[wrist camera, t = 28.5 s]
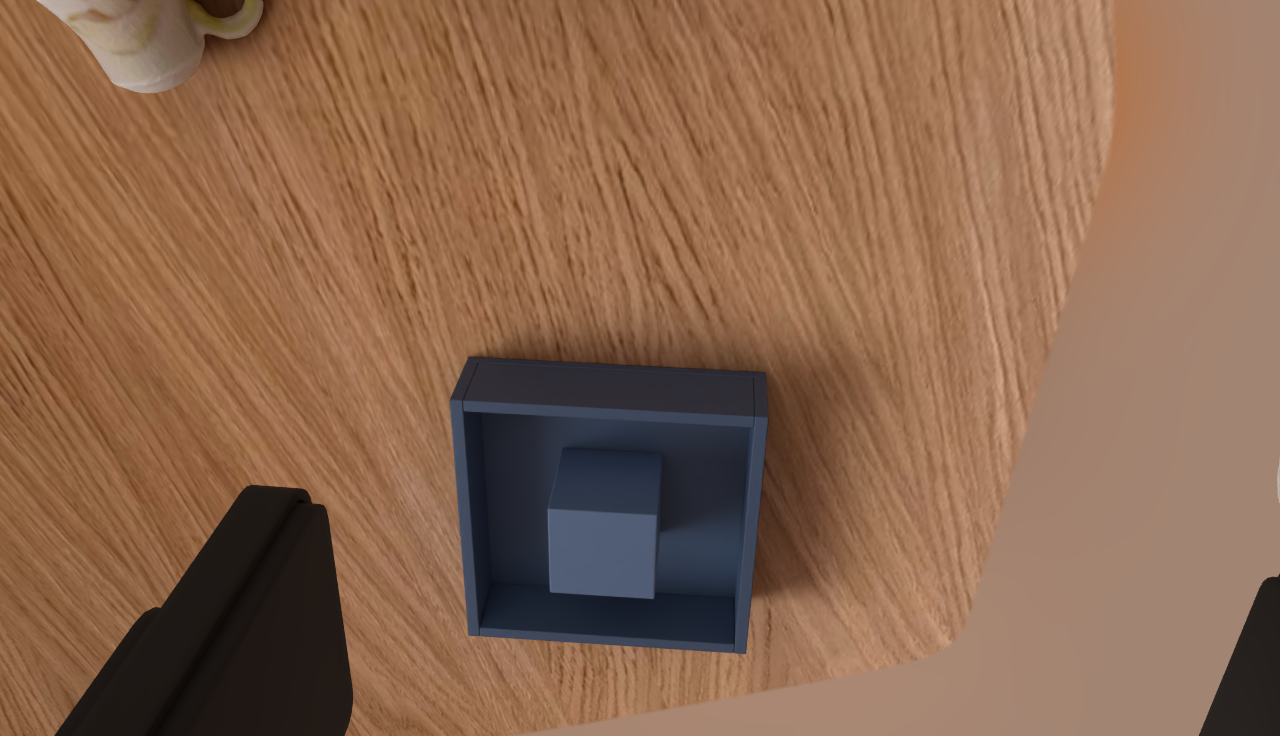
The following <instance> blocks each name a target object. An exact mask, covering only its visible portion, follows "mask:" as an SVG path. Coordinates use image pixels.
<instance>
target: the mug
mask: <svg viewBox="0 0 1280 736" xmlns="http://www.w3.org/2000/svg"><path fill="white" fill-rule="evenodd" d="M37 1H38V2H39V3H41V4H42V5H44V6H45V7H46V8H47V9H49V10H50V11H51V12H52V13H54V14H55V15H56V16H58V17H59V18H60V19H61V20H62V21H63V22H65V23H66V24H68V25H69V26H70V27H71V28H72V29H73V30H74V31H75V32H76V33H77V34H78V35H79V36H80V37H81V39H82V40H83V41H84V43H85V44H86V45H87V46H88V47H89V49H90V50H91V51H92V53H93V54H94V56H95V57H96V59H97V60H98V62H99V63H100V65H101V66H102V68H103V69H104V71H105V72H106V74H107V75H108V76H109V78H110V80H111V82H113V83H114V84H116V85H117V86H120V87H123V88H126V89H128V90H131V91H135V92H140V93H157V92H162V91H166V90H170V89H172V88H174V87H177V86H179V85H181V84H182V83H183V82H185V81H187V80H188V79H189V78H190V77H191V76H192V75H193V74H194V72H195V71H196V70H197V68H198V67H199V64H200V62H201V59H202V54H203V51H204V47H205V40H204V36H205V34H212V35H215V36H218V37H221V38H224V39H227V40H229V39H236V38H241V37H244V36H246V35H248V34H249V33H250V32H251V31H252V30H253V29H254V28H255V27H256V26H257V24H258V22H259V20H260V18H261V15H262V12H263V5H264V4H263V0H245V1H244V4H243V7H242V9H241V10H240V11H239V12H238V13H236V14H235V15H232V16H229V17H226V18H216V17H214V16H212V15H210V14H208V13H207V12H206V11H205V10H204V9H203V8H202V6H201V5H200V4H199V3H197V2H196V1H194V0H37Z"/></svg>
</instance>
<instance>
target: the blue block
mask: <svg viewBox="0 0 1280 736" xmlns="http://www.w3.org/2000/svg"><path fill="white" fill-rule="evenodd" d="M662 467H663V454H659V453H642V452H624V451H607V450H589V449H572V448H562V451H561V455H560V459H559V463H558V468H557V472H556V476H555V480H554V484H553V489H552V493H551V497H550V501H549V505H548V543H549V579H550V592H552V593H568V594H584V595H599V596H615V597H630V598H646V599H654V597H655V585H656V574H657V562H658V550H659V539H660V519H661V493H662Z"/></svg>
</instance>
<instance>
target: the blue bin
mask: <svg viewBox="0 0 1280 736" xmlns="http://www.w3.org/2000/svg"><path fill="white" fill-rule="evenodd" d="M450 410H451V423H452V435H453V448H454V460H455V473H456V485H457V498H458V511H459V523H460V536H461V548H462V561H463V573H464V586H465V598H466V611H467V623H468V635H469V636H484V637H500V638H515V639H530V640H545V641H560V642H575V643H590V644H605V645H620V646H635V647H650V648H665V649H680V650H695V651H710V652H725V653H737V654H746V648H747V638H748V627H749V617H750V606H751V596H752V586H753V575H754V565H755V554H756V544H757V533H758V523H759V513H760V502H761V492H762V481H763V471H764V460H765V450H766V440H767V429H768V419H769V417H768V401H767V385H766V373H763V372H745V371H726V370H707V369H688V368H669V367H650V366H632V365H613V364H594V363H575V362H556V361H537V360H519V359H500V358H481V357H468V359H467V361H466V364H465V366H464V368H463V371H462V373H461V375H460V378H459V380H458V382H457V385H456V387H455V389H454V392H453V394H452V396H451V398H450ZM562 448H572V449H589V450H607V451H624V452H642V453H659V454H663V467H662V493H661V519H660V539H659V550H658V562H657V574H656V585H655V597H654V599H646V598H630V597H615V596H599V595H584V594H568V593H552V592H550V579H549V543H548V505H549V501H550V497H551V493H552V489H553V484H554V480H555V476H556V472H557V468H558V463H559V459H560V455H561V451H562Z"/></svg>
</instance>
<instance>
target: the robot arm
mask: <svg viewBox="0 0 1280 736" xmlns="http://www.w3.org/2000/svg"><path fill="white" fill-rule="evenodd" d="M352 706H353V688H352V681H351V674H350V667H349V660H348V653H347V646H346V639H345V632H344V625H343V618H342V611H341V604H340V597H339V590H338V582H337V575H336V568H335V561H334V554H333V547H332V540H331V533H330V526H329V519H328V514H327V510H326V508H325V506H324V505H321V504H312V502H311V498H310V495H309V494H308V492H307V491H306V490H304V489H300V488H287V487H273V486H260V485H250V486H247V487H246V488H245V489H244V490H243V491H242V492H241V493H240V494H239V496H238V497H237V499H236V500H235V502H234V503H233V505H232V506H231V507H230V509H229V510H228V512H227V513H226V515H225V516H224V518H223V519H222V520H221V522H220V523H219V525H218V526H217V528H216V529H215V531H214V532H213V533H212V535H211V536H210V538H209V539H208V541H207V542H206V544H205V545H204V546H203V548H202V549H201V551H200V552H199V554H198V555H197V557H196V558H195V559H194V561H193V562H192V564H191V565H190V567H189V568H188V570H187V571H186V572H185V574H184V575H183V577H182V578H181V580H180V581H179V583H178V584H177V585H176V587H175V588H174V590H173V591H172V593H171V594H170V596H169V597H168V598H167V600H166V601H165V603H164V604H163V606H162V607H161V608H159V607H154V608H152V609H150V610H148V611H146V612H144V613H143V615H142V616H141V617H140V618H139V619H138V620H137V621H136V622H135V623H134V624H133V626H132V627H131V629H130V630H129V632H128V633H127V634H126V636H125V637H124V639H123V640H122V641H121V643H120V644H119V646H118V647H117V648H116V650H115V651H114V653H113V654H112V655H111V657H110V658H109V660H108V661H107V662H106V664H105V665H104V667H103V668H102V669H101V671H100V672H99V674H98V675H97V676H96V678H95V679H94V681H93V682H92V684H91V685H90V686H89V688H88V689H87V691H86V692H85V693H84V695H83V696H82V698H81V699H80V700H79V702H78V703H77V705H76V706H75V707H74V709H73V710H72V712H71V713H70V714H69V716H68V717H67V719H66V720H65V721H64V723H63V724H62V726H61V727H60V728H59V730H58V731H57V733H56V734H55V736H344V735H345V733H346V731H347V728H348V725H349V722H350V717H351V713H352ZM1199 736H1280V574H1279V576H1278V577H1270V578H1267V579H1266V580H1265V581H1263V583H1262V585H1261V586H1260V588H1259V591H1258V593H1257V596H1256V598H1255V600H1254V603H1253V605H1252V608H1251V610H1250V613H1249V615H1248V617H1247V620H1246V622H1245V625H1244V627H1243V630H1242V632H1241V635H1240V637H1239V639H1238V642H1237V644H1236V647H1235V649H1234V652H1233V654H1232V656H1231V659H1230V661H1229V664H1228V666H1227V669H1226V671H1225V673H1224V676H1223V678H1222V681H1221V683H1220V686H1219V688H1218V690H1217V693H1216V695H1215V698H1214V700H1213V703H1212V705H1211V707H1210V710H1209V712H1208V715H1207V717H1206V720H1205V722H1204V724H1203V727H1202V729H1201V732H1200V734H1199Z"/></svg>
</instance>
